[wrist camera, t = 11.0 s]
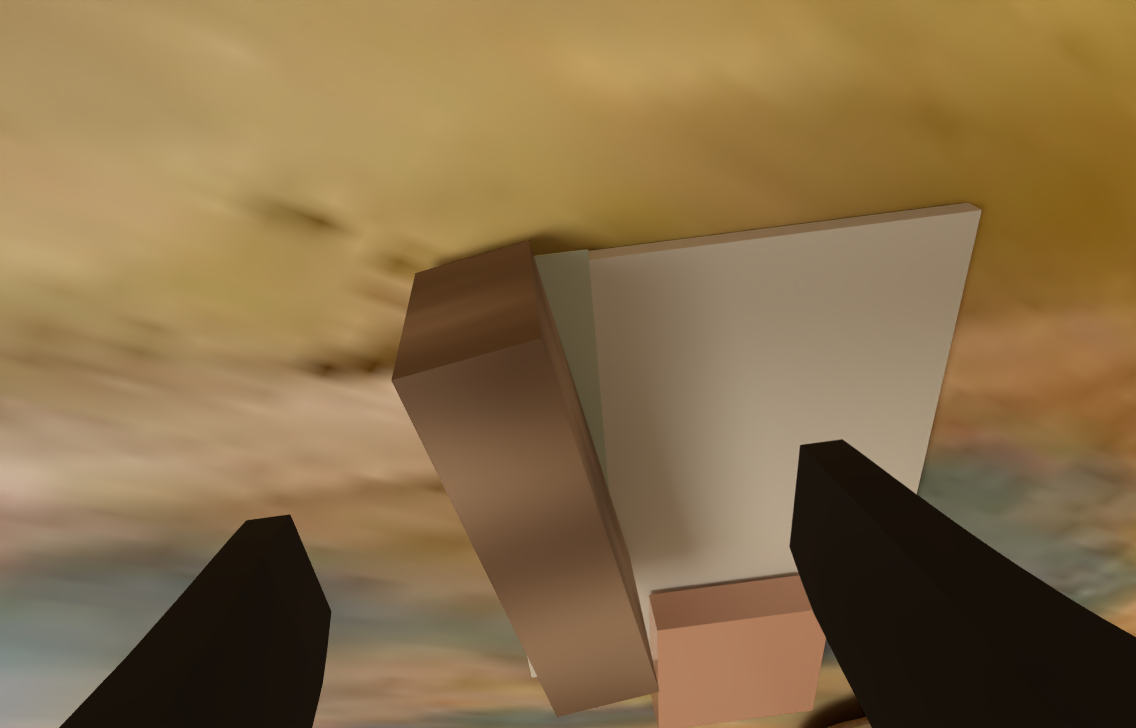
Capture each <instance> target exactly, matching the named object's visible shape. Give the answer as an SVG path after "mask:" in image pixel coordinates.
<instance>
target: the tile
mask: <svg viewBox="0 0 1136 728" xmlns="http://www.w3.org/2000/svg"><path fill="white" fill-rule="evenodd" d="M649 628H650V651H651V655H652V660H653V664H654V669H655V673H656V678H657V682H658V687H659V691H660V692H656V693H652V694H651V697H652V701H653V706H654V711H655V716H656V720H657V725H658V728H686V727H694V726H701V725H708V724H715V723H723V722H730V721H737V720H745V719H752V718H759V717H767V716H774V715H781V714H788V713H796V712H803V711H810V710H813V705H814V700H815V694H816V689H817V684H818V678H819V673H820V668H821V662H822V657H823V652H824V646H825V641H826V637H825V635H824V633H823V631H822V629H821V627H820V625H819V623H818V621H817V619H816V617H815V615H814V613H813V610H812V608H811V605H810V602H809V600H808V597H807V595H806V592H805V589H804V587H803V584H802V581H801V578H800V576H799V575H798V576H790V577H782V578H774V579H767V580H759V581H751V582H743V583H736V584H728V585H720V586H713V587H705V588H697V589H689V590H682V591H674V592H666V593H659V594H651V595H649Z"/></svg>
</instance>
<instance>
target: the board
mask: <svg viewBox="0 0 1136 728" xmlns="http://www.w3.org/2000/svg"><path fill="white" fill-rule="evenodd" d="M981 211H982V210H981V209H979V208H977V207H975V206H974V205H972V204H970V203H961V204H953V205H946V206H938V207H930V208H922V209H914V210H906V211H898V212H891V213H883V214H875V215H867V216H859V217H851V218H843V219H836V220H828V221H820V222H812V223H804V224H796V225H788V226H781V227H773V228H765V229H757V230H749V231H741V232H733V233H726V234H718V235H710V236H702V237H694V238H686V239H678V240H670V241H663V242H655V243H647V244H639V245H631V246H623V247H615V248H608V249H600V250H592V251H588V249H583V250H576V251H568V252H560V253H552V254H544V255H536V256H534V258H535V261H536V265H537V268H538V271H539V274H540V277H541V280H542V283H543V287H544V290H545V293H546V296H547V299H548V302H549V305H550V308H551V312H552V315H553V318H554V321H555V324H556V327H557V330H558V334H559V337H560V340H561V343H562V346H563V349H564V352H565V356H566V359H567V362H568V365H569V368H570V371H571V374H572V377H573V381H574V384H575V387H576V390H577V393H578V396H579V399H580V403H581V406H582V409H583V412H584V415H585V418H586V421H587V424H588V428H589V431H590V434H591V437H592V440H593V443H594V446H595V450H596V453H597V456H598V459H599V462H600V465H601V468H602V472H603V475H604V478H605V481H606V484H607V487H608V490H609V493H610V497H611V500H612V503H613V506H614V509H615V512H616V515H617V519H618V522H619V525H620V528H621V531H622V534H623V537H624V540H625V544H626V547H627V550H628V553H629V556H630V560H631V565H632V569H633V574H634V578H635V583H636V587H637V592H638V596H639V601H640V605H641V610H642V614H643V619H644V623H645V628H646V632H647V637H648V641H649V646H650V628H649V595H651V594H659V593H666V592H674V591H682V590H689V589H697V588H705V587H713V586H720V585H728V584H736V583H743V582H751V581H759V580H767V579H774V578H782V577H790V576H798V575H799V573H798V570H797V567H796V564H795V561H794V559H793V556H792V553H791V550H790V547H789V546H790V536H791V527H792V517H793V508H794V498H795V488H796V479H797V469H798V460H799V450H800V445H803V444H811V443H818V442H825V441H833V440H840V439H843V440H844V441H846V442H847V443H848V444H850V445H851V446H853V447H854V448H855V449H857V450H858V451H859V452H861V453H862V454H863V455H865V456H866V457H867V458H869V459H870V460H871V461H873V462H874V463H875V464H877V465H878V466H879V467H881V468H882V469H883V470H885V471H886V472H887V473H889V474H890V475H891V476H893V477H894V478H895V479H897V480H898V481H899V482H901V483H902V484H903V485H905V486H906V487H907V488H909V489H910V490H911V491H913V492H914V493H916V494H917V490H918V486H919V482H920V477H921V473H922V469H923V464H924V460H925V455H926V451H927V447H928V442H929V438H930V434H931V429H932V425H933V421H934V416H935V412H936V407H937V403H938V399H939V394H940V390H941V386H942V381H943V377H944V373H945V368H946V364H947V360H948V355H949V351H950V346H951V342H952V338H953V333H954V329H955V325H956V320H957V316H958V312H959V307H960V303H961V298H962V294H963V290H964V285H965V281H966V277H967V272H968V268H969V264H970V259H971V255H972V250H973V246H974V242H975V237H976V233H977V229H978V224H979V220H980V216H981ZM528 662H529V667H530V672H531V677H537V675H536V673H535V671H534V669H533V667H532V665H531V663H530V661H529V659H528Z"/></svg>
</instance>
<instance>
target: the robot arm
mask: <svg viewBox="0 0 1136 728" xmlns="http://www.w3.org/2000/svg"><path fill="white" fill-rule="evenodd" d="M789 547H790V550H791V553H792V556H793V559H794V561H795V564H796V567H797V570H798V573H799V576H800V578H801V581H802V584H803V587H804V589H805V592H806V595H807V597H808V600H809V602H810V605H811V608H812V610H813V613H814V615H815V617H816V619H817V621H818V623H819V625H820V627H821V629H822V631H823V633H824V635H825V637H826V639H827V641H828V643H829V645H830V647H831V649H832V651H833V653H834V655H835V657H836V659H837V661H838V663H839V665H840V667H841V669H842V671H843V673H844V675H845V676H846V678H847V680H848V682H849V684H850V686H851V688H852V690H853V692H854V694H855V696H856V698H857V700H858V702H859V704H860V706H861V708H862V710H863V712H864V713H865V715H866V717H867V719H868V721H869V723H870V725H871V727H872V728H1136V637H1134V636H1133V635H1131V634H1129V633H1127V632H1126V631H1124V630H1122V629H1120V628H1119V627H1117V626H1115V625H1113V624H1111V623H1110V622H1108V621H1106V620H1104V619H1103V618H1101V617H1099V616H1098V615H1096V614H1094V613H1093V612H1091V611H1089V610H1088V609H1086V608H1084V607H1083V606H1081V605H1079V604H1078V603H1076V602H1074V601H1073V600H1071V599H1070V598H1068V597H1066V596H1065V595H1063V594H1062V593H1060V592H1058V591H1057V590H1055V589H1054V588H1052V587H1051V586H1049V585H1048V584H1046V583H1044V582H1043V581H1041V580H1040V579H1038V578H1037V577H1035V576H1034V575H1032V574H1030V573H1029V572H1027V571H1026V570H1024V569H1023V568H1021V567H1019V566H1018V565H1016V564H1015V563H1013V562H1012V561H1010V560H1009V559H1007V558H1006V557H1004V556H1003V555H1001V554H1000V553H999V552H997V551H996V550H994V549H993V548H991V547H990V546H988V545H987V544H985V543H984V542H982V541H981V540H980V539H978V538H977V537H975V536H974V535H972V534H971V533H969V532H968V531H967V530H965V529H964V528H962V527H961V526H960V525H958V524H957V523H955V522H954V521H953V520H951V519H950V518H948V517H947V516H946V515H944V514H943V513H941V512H940V511H939V510H937V509H936V508H935V507H933V506H932V505H930V504H929V503H928V502H926V501H925V500H924V499H922V498H921V497H920V496H918V495H917V494H916V493H914V492H913V491H911V490H910V489H909V488H907V487H906V486H905V485H903V484H902V483H901V482H899V481H898V480H897V479H895V478H894V477H893V476H891V475H890V474H889V473H887V472H886V471H885V470H883V469H882V468H881V467H879V466H878V465H877V464H875V463H874V462H873V461H871V460H870V459H869V458H867V457H866V456H865V455H863V454H862V453H861V452H859V451H858V450H857V449H855V448H854V447H853V446H851V445H850V444H848V443H847V442H846V441H844V440H843V439H840V440H833V441H825V442H818V443H811V444H803V445H800V450H799V460H798V469H797V479H796V488H795V498H794V508H793V517H792V527H791V536H790V546H789ZM330 619H331V610H330V607H329V605H328V602H327V600H326V598H325V595H324V593H323V591H322V588H321V586H320V584H319V581H318V579H317V576H316V574H315V572H314V569H313V567H312V565H311V562H310V560H309V558H308V555H307V553H306V550H305V548H304V546H303V543H302V541H301V539H300V536H299V534H298V532H297V529H296V527H295V524H294V522H293V520H292V517H291V515H283V516H275V517H268V518H261V519H253V520H246V521H245V523H244V524H243V525H242V526H241V527H240V528H239V529H238V530H237V531H236V532H235V534H234V535H233V536H232V537H231V538H230V539H229V540H228V541H227V543H226V544H225V545H224V546H223V547H222V548H221V550H220V551H219V552H218V553H217V554H216V555H215V556H214V558H213V559H212V560H211V561H210V562H209V563H208V565H207V566H206V567H205V568H204V569H203V570H202V572H201V573H200V574H199V575H198V576H197V577H196V579H195V580H194V581H193V582H192V583H191V584H190V586H189V587H188V588H187V589H186V590H185V591H184V593H183V594H182V595H181V596H180V597H179V598H178V599H177V601H176V602H175V603H174V604H173V605H172V606H171V607H170V608H169V610H168V611H167V612H166V613H165V614H164V615H163V616H162V618H161V619H160V620H159V621H158V622H157V623H156V624H155V625H154V627H153V628H152V629H151V630H150V631H149V632H148V633H147V634H146V636H145V637H144V638H143V639H142V640H141V641H140V642H139V644H138V645H137V646H136V647H135V648H134V649H133V650H132V651H131V653H130V654H129V655H128V656H127V657H126V658H125V659H124V660H123V661H122V662H121V663H120V664H119V665H118V666H117V667H116V669H115V670H114V671H113V672H112V673H111V674H110V675H109V676H108V677H107V678H106V679H105V680H104V681H103V682H102V683H101V684H100V685H99V686H98V687H97V688H96V690H95V691H94V692H93V693H92V694H91V695H90V696H89V697H88V698H87V699H86V700H85V701H84V702H83V703H82V704H81V705H80V706H79V707H78V708H77V710H76V711H75V712H74V713H73V714H72V715H71V716H70V717H69V718H68V719H67V720H66V721H65V722H64V723H63V724H62V725H61V726H60V727H59V728H312V726H313V722H314V718H315V714H316V709H317V705H318V701H319V697H320V693H321V688H322V684H323V677H324V670H325V662H326V655H327V647H328V637H329V628H330Z"/></svg>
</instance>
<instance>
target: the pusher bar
mask: <svg viewBox="0 0 1136 728" xmlns="http://www.w3.org/2000/svg"><path fill="white" fill-rule="evenodd" d="M392 382H393V384H394V386H395V389H396V391H397V393H398V395H399V397H400V399H401V401H402V403H403V405H404V407H405V409H406V411H407V413H408V415H409V417H410V419H411V421H412V423H413V425H414V427H415V429H416V431H417V433H418V435H419V437H420V439H421V441H422V443H423V445H424V447H425V449H426V451H427V454H428V456H429V458H430V460H431V462H432V464H433V466H434V468H435V470H436V472H437V474H438V476H439V478H440V480H441V482H442V484H443V486H444V488H445V490H446V492H447V494H448V496H449V498H450V500H451V502H452V504H453V506H454V508H455V510H456V512H457V514H458V516H459V518H460V521H461V523H462V525H463V527H464V529H465V531H466V533H467V535H468V537H469V539H470V541H471V543H472V545H473V547H474V549H475V551H476V553H477V555H478V557H479V559H480V561H481V563H482V565H483V567H484V569H485V571H486V573H487V575H488V577H489V579H490V581H491V583H492V585H493V588H494V590H495V592H496V594H497V596H498V598H499V600H500V602H501V604H502V606H503V608H504V610H505V612H506V614H507V616H508V618H509V620H510V622H511V624H512V626H513V628H514V630H515V632H516V634H517V636H518V638H519V640H520V642H521V644H522V646H523V648H524V650H525V653H526V655H527V657H528V659H529V661H530V663H531V665H532V667H533V669H534V671H535V673H536V675H537V677H538V679H539V681H540V683H541V685H542V687H543V689H544V691H545V693H546V695H547V697H548V699H549V701H550V703H551V705H552V707H553V709H554V711H555V713H556V715H557V717H559V716H563V715H567V714H571V713H575V712H579V711H583V710H587V709H591V708H595V707H599V706H603V705H607V704H611V703H615V702H619V701H623V700H628V699H632V698H636V697H640V696H644V695H648V694H652V693H656V692H660V691H659V687H658V682H657V678H656V673H655V669H654V664H653V660H652V655H651V651H650V646H649V641H648V637H647V632H646V628H645V623H644V619H643V614H642V610H641V605H640V601H639V596H638V592H637V587H636V583H635V578H634V574H633V569H632V565H631V560H630V556H629V553H628V550H627V547H626V544H625V540H624V537H623V534H622V531H621V528H620V525H619V522H618V519H617V515H616V512H615V509H614V506H613V503H612V500H611V497H610V493H609V490H608V487H607V484H606V481H605V478H604V475H603V472H602V468H601V465H600V462H599V459H598V456H597V453H596V450H595V446H594V443H593V440H592V437H591V434H590V431H589V428H588V424H587V421H586V418H585V415H584V412H583V409H582V406H581V403H580V399H579V396H578V393H577V390H576V387H575V384H574V381H573V377H572V374H571V371H570V368H569V365H568V362H567V359H566V356H565V352H564V349H563V346H562V343H561V340H560V337H559V334H558V330H557V327H556V324H555V321H554V318H553V315H552V312H551V308H550V305H549V302H548V299H547V296H546V293H545V290H544V287H543V283H542V280H541V277H540V274H539V271H538V268H537V265H536V261H535V258H534V255H533V252H532V249H531V246H530V243H529V240H528V241H525V242H522V243H518V244H515V245H511V246H508V247H504V248H501V249H497V250H494V251H491V252H487V253H484V254H480V255H477V256H473V257H470V258H466V259H463V260H460V261H456V262H453V263H449V264H446V265H442V266H439V267H435V268H432V269H429V270H425V271H422V272H418V273H415V278H414V282H413V287H412V291H411V296H410V300H409V305H408V309H407V313H406V318H405V322H404V327H403V331H402V336H401V340H400V345H399V349H398V354H397V358H396V363H395V367H394V371H393V376H392Z"/></svg>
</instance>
